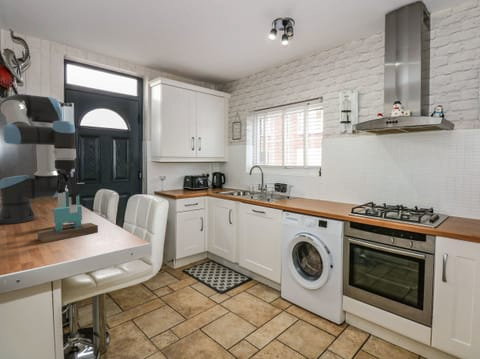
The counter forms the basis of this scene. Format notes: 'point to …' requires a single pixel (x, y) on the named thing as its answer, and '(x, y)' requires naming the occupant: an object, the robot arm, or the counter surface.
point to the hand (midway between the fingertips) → (67, 210)
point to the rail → (66, 232)
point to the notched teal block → (67, 217)
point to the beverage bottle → (68, 201)
